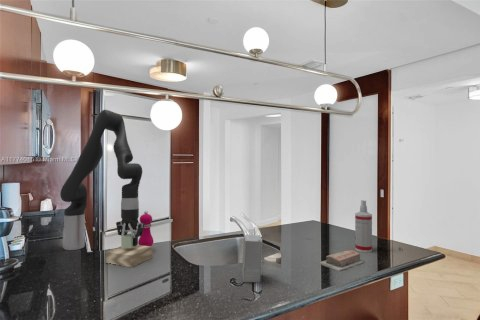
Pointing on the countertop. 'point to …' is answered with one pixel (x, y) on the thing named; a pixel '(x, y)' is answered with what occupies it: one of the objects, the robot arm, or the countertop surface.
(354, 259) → the soap bar on dish
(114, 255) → the pedestal
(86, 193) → the robot arm
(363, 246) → the spray bottle
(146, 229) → the pepper mill
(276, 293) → the countertop surface
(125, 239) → the cube
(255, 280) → the skincare box
